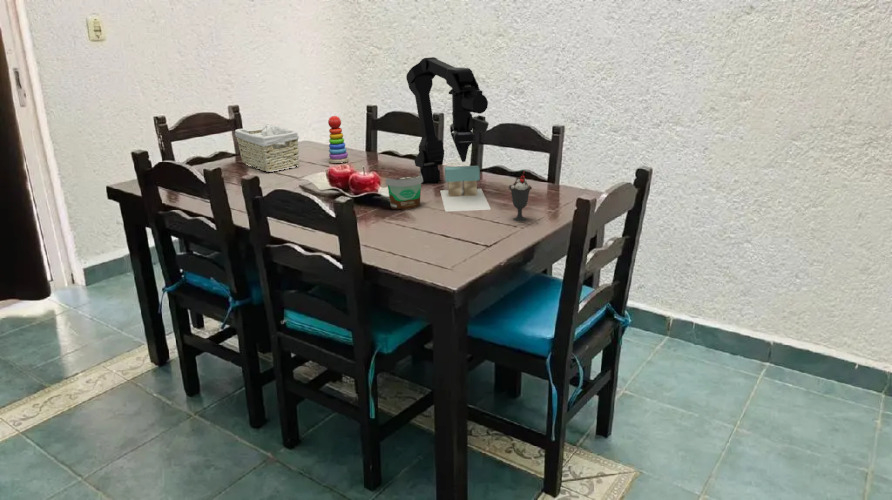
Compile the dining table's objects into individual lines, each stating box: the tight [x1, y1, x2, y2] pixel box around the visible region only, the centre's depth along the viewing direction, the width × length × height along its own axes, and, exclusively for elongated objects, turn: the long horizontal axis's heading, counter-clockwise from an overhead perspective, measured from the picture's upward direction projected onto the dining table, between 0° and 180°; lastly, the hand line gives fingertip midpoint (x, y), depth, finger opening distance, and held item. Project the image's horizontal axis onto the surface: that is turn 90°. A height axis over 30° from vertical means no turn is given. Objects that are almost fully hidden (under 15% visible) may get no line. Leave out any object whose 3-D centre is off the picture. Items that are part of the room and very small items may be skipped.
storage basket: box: [234, 124, 300, 171], centre depth 259 cm, size 24×16×15 cm
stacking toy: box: [327, 115, 350, 164], centre depth 262 cm, size 8×8×19 cm
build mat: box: [440, 188, 492, 213], centre depth 210 cm, size 14×24×1 cm, turn 4°
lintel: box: [444, 165, 481, 183], centre depth 213 cm, size 11×4×4 cm, turn 94°
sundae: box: [508, 171, 533, 224], centre depth 187 cm, size 7×7×15 cm
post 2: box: [462, 181, 478, 196], centre depth 215 cm, size 4×4×5 cm
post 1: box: [447, 181, 462, 197], centre depth 215 cm, size 4×4×5 cm
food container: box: [384, 172, 423, 210], centre depth 202 cm, size 12×6×10 cm, turn 117°
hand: (462, 158), depth 212 cm, fingers open, 9 cm apart
